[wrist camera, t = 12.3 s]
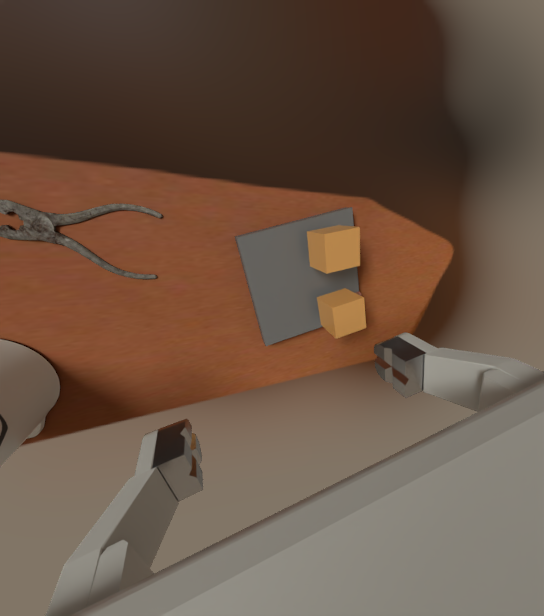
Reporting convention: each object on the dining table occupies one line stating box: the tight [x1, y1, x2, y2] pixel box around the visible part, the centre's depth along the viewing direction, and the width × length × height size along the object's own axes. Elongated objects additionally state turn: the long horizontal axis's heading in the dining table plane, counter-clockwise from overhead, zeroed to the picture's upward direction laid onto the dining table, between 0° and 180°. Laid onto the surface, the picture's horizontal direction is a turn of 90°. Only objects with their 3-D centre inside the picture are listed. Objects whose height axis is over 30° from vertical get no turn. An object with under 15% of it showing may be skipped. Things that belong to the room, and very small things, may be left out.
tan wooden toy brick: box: [307, 225, 360, 274], centre depth 34 cm, size 5×5×5 cm
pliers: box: [0, 200, 163, 279], centre depth 32 cm, size 10×1×20 cm
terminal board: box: [235, 207, 366, 346], centre depth 37 cm, size 18×18×9 cm
